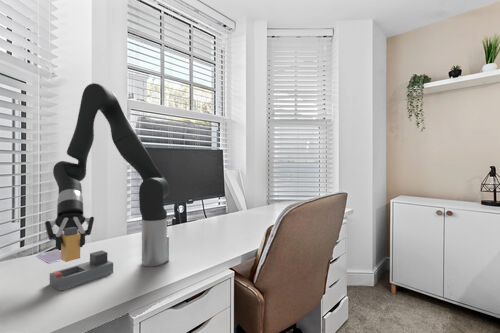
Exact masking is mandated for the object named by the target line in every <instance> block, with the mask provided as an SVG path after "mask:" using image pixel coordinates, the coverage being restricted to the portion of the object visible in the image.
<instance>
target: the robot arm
mask: <svg viewBox="0 0 500 333" xmlns="http://www.w3.org/2000/svg"><path fill="white" fill-rule="evenodd" d="M79 105H80V106H79V111H78V116H77V121H76V125H75V127H74V128H75V129H74V131H73V132H74V133H73V134H72V137H71V138H70V139H71V140H70V142H69V145H68V147H67V150H66V154H67V156H69V157H71V158H73V159H74V160H77V163H74V162H70V161H63V160H60V161H58V162H56V163H55V164H54V166H53V170H52V172H53V173H52V174H53V178H54V180H55V183H56V184H57V187H58V198H57V204H56V207H57V208H56V209H57V211H56V218H55V220H53V221H49V220H46V221H45V222H44V226H45V230H46V233H47V237H48V240H49V241H52V240H53V241H55V250H58V251H61V234H64V228H69V227H76V228H78V233H79V234H80V248H83V247H84V246H85V245H86V236H90V235H91V234H92V229H93V225H94V223H95V222H94V221H95V217H94V216H90V217H86V215H85V214H84V198H83V189H82V188H83V187H82V183H81V181H83V180H84V179H85V178H86V175H87V163H88V157H89V155H90V154H89V153H90V152H91V148H92V146H93V142H94V139H95V131H94V130H95V128H94V126H95V124H94V123H95V119H96V116H97V113H98V112H99V111H100V112H101V114H102V115H103V116H104V117H105V119H106V120H107V123H108V125H109V128H110V134H111V139H112V141H113V143H114V144H113V145H114V146H115V148H116V149H117V151H118V152H119V155H120V156H121V157H122V158H123V160H125V161H126V162H127V163H128V164H129V165H130V166H131V167H132V168H133V169H134V170H135V171H136V172H137V173H138V175H139V177H141V179H142V182H141V183H140V186H139V190H138V200H139V204H138V206H139V212H140V214H141V215H140V216H141V265H142V266H144V267H158V266H162V265H164V264H165V263H166V262H167V261H169V260H170V236H168V212H167V210H166V209H165V205H164V203H165V202H164V199H165V198H167V196H168V195H169V193H170V185H169V183H168V181H167V180H166V178H165V177H164V175H163V174H162V172H160V170H159V169H158V167H157V166H156V165H155V163H154V161H153V159H152V157H151V156H150V154H149V152H148V151H147V149H146V148H145V147H146V146H145V145H144V143H143V142H142V140H141V138H140V137H139V135H138V133H137V132H136V130H135V128H134V127H133V126H132V124H131V123H130V120H129V119H128V117H127V116H126V114H125V112H124V111H123V109H122V106H121V104H120V101H119V99H118V97H117V95H116V94H115V93H114V92H113V90H111V89H109V88H107V87H106V86H104V85H101V84H99V83H94V82H93V83H90V84H88V85H87V86H86V87H85V88H84V89H83V92H82V95H81V99H80V104H79ZM85 222H86V224H87V225H88V226H87V227H86V228H87V229H84V227H83V224H84V223H85ZM55 225H56V227H58V230H57V232H56V233H54V231H53V228H55Z"/></svg>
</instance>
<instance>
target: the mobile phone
mask: <svg viewBox="0 0 500 333" xmlns="http://www.w3.org/2000/svg"><path fill="white" fill-rule="evenodd" d="M36 258H38V259H41V260H42V261H43V262H45V261H46V262H45V263H47V262H48V263H47V264H53V263H52V262H54V263H57V262H56V261H58V262H60V260H61V250H59V251H58V249H55V250H51V251H47V252H43V253H42V252H41V253H38V254H36Z"/></svg>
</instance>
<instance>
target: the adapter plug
mask: <svg viewBox="0 0 500 333" xmlns="http://www.w3.org/2000/svg"><path fill="white" fill-rule="evenodd" d="M60 252H61V260H62V261H63V262H65V263H67V262H71V261H74V260H79V259H81V247H80V234H79V233H78V228H76V227H69V228H64V234H61V250H60Z"/></svg>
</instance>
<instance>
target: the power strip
mask: <svg viewBox="0 0 500 333" xmlns="http://www.w3.org/2000/svg"><path fill="white" fill-rule="evenodd" d="M110 274H114V262H113V261H109V260H108V251H104V250H98V251H95V252H91V253H89V261H87V262H84V263H83V262H82V263H79V264H77V265H73V266H70V267H65V268H63V269H60V270H56V271H52V272H50V273H49V285H51V287H52V288H54V289H56V290H58V291H59V290H60V292H61V290H62V291H64V289H65V290H67V288H68V289H70V288H73V287H76V286H78V284H79V285H81V283H82V284H84V283H87V282H89V281H93V280H96V279H100V278H102V277H105V276H107V275H110ZM75 285H76V286H75ZM72 286H73V287H72Z"/></svg>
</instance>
